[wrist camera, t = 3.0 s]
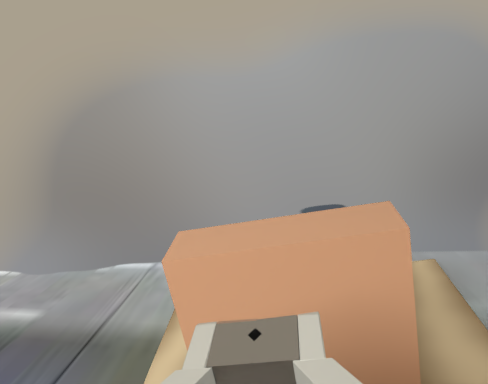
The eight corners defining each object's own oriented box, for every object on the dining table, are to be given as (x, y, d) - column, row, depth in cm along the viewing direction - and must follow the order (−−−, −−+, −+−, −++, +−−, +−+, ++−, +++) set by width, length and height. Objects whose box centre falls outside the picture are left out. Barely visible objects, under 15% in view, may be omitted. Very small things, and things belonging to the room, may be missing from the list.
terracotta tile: (407, 416, 22) (388, 199, 18) (427, 473, 19) (409, 228, 15) (232, 429, 24) (179, 229, 20) (225, 483, 21) (161, 261, 17)
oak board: (434, 268, 37) (434, 258, 37) (674, 605, 14) (678, 587, 14) (184, 298, 40) (182, 290, 40) (63, 609, 18) (56, 595, 18)
